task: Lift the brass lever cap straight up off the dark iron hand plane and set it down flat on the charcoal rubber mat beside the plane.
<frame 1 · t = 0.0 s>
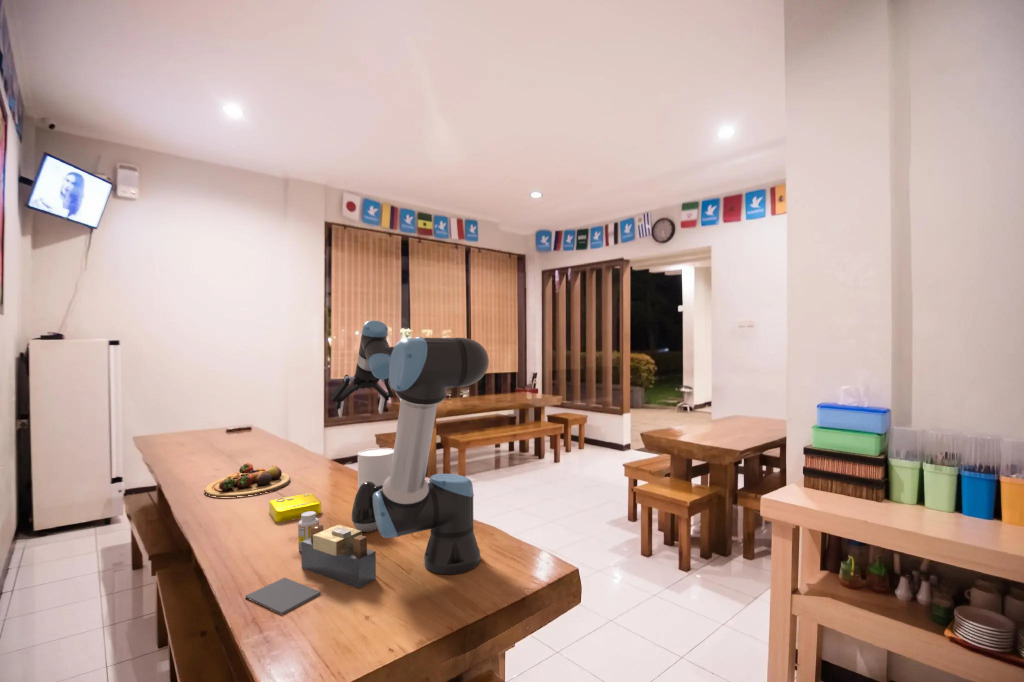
hand: (360, 413, 164), 36 cm above the table, tool tilted 35°, fingers open, 13 cm apart
wooden plate with food: (249, 487, 201), on the table
canister: (377, 506, 174), on the table
lever cap: (337, 546, 123), point 7 cm above the table, touching plane body
rubber mat: (283, 596, 112), on the table
pump dispenser: (368, 529, 153), on the table
plane body: (337, 573, 123), on the table
supplement bottle: (308, 549, 138), on the table
element tile: (295, 514, 169), on the table
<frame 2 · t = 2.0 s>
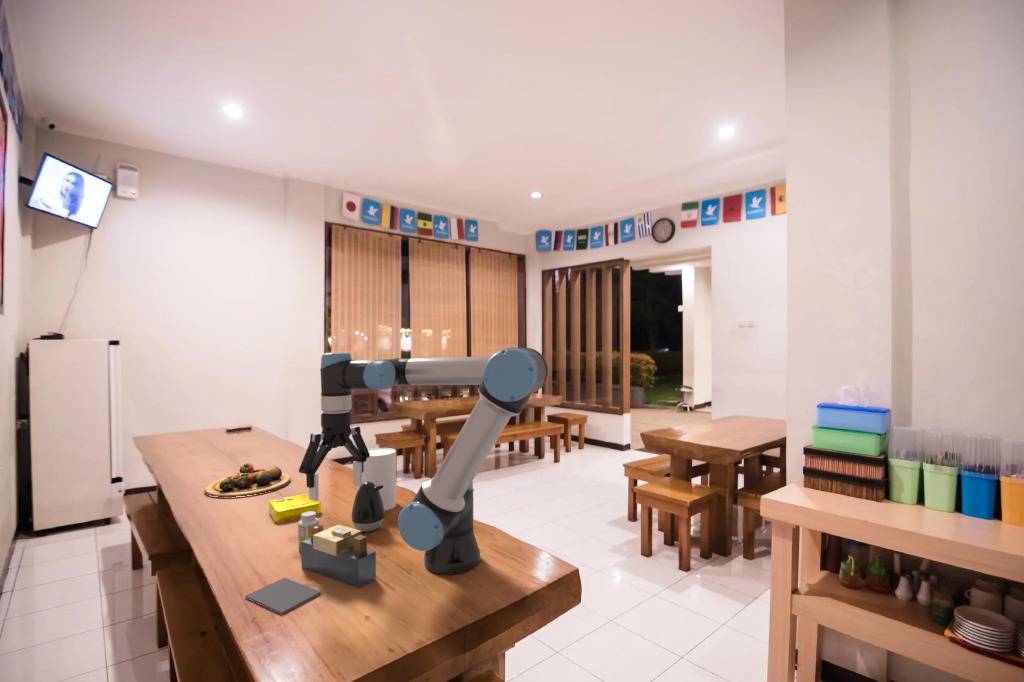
hand: (336, 492, 124), 21 cm above the table, tool pointing down, fingers open, 13 cm apart
nothing on the table moved.
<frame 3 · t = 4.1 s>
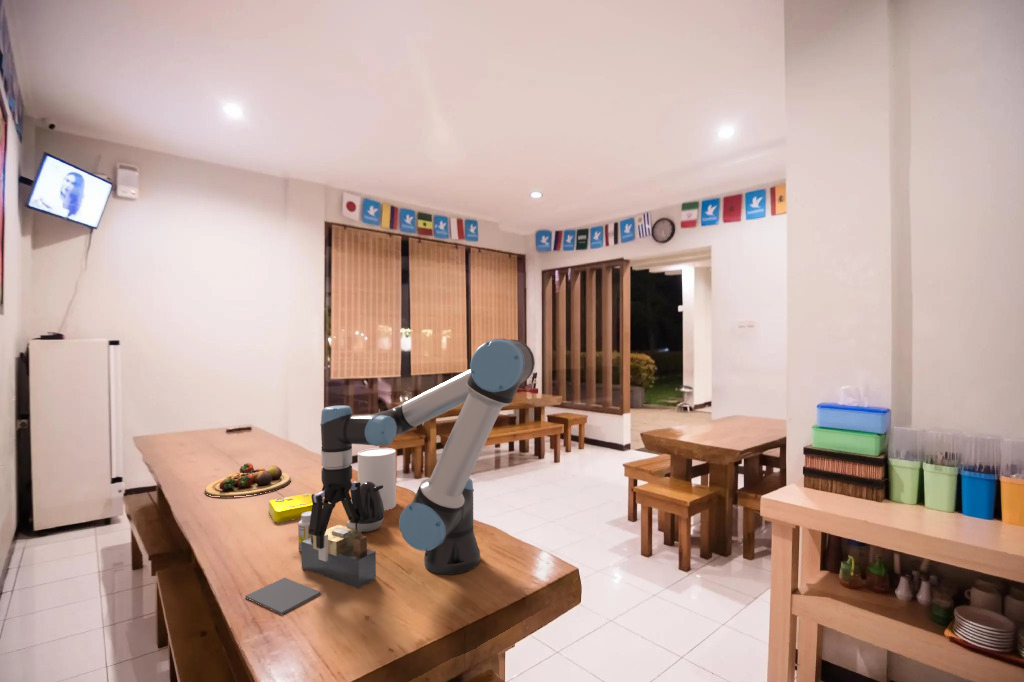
hand: (337, 553, 123), 5 cm above the table, tool pointing down, fingers closed on lever cap, 8 cm apart
lever cap: (337, 546, 123), point 7 cm above the table, touching gripper, plane body
everything else where it was.
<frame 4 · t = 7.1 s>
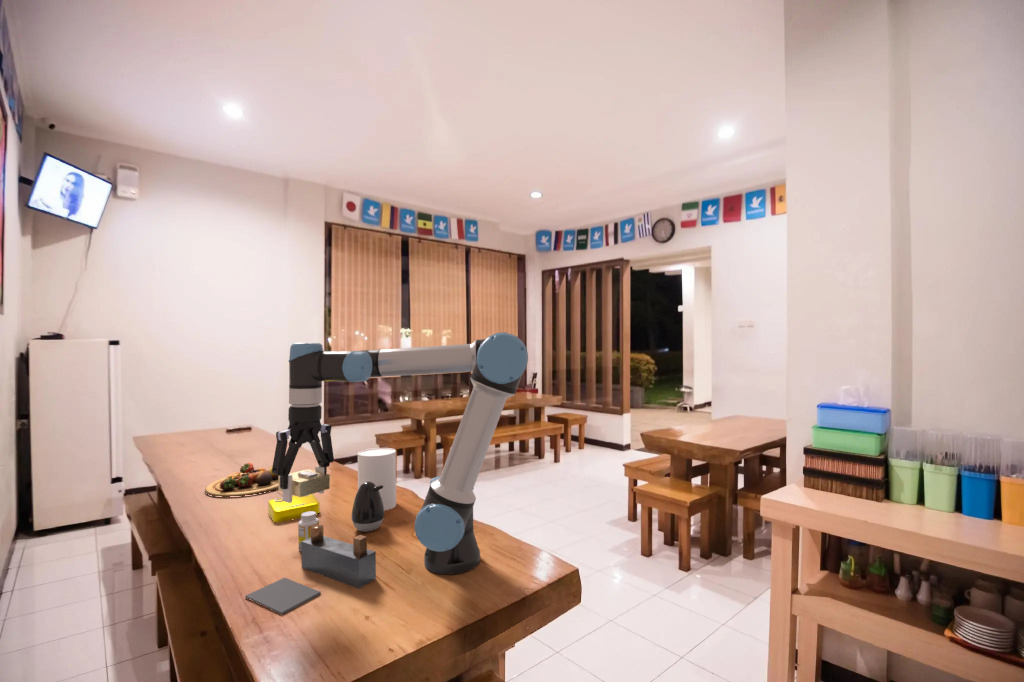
hand: (303, 496, 117), 22 cm above the table, tool pointing down, fingers closed on lever cap, 8 cm apart
lever cap: (304, 489, 117), point 24 cm above the table, touching gripper
everything else where it was.
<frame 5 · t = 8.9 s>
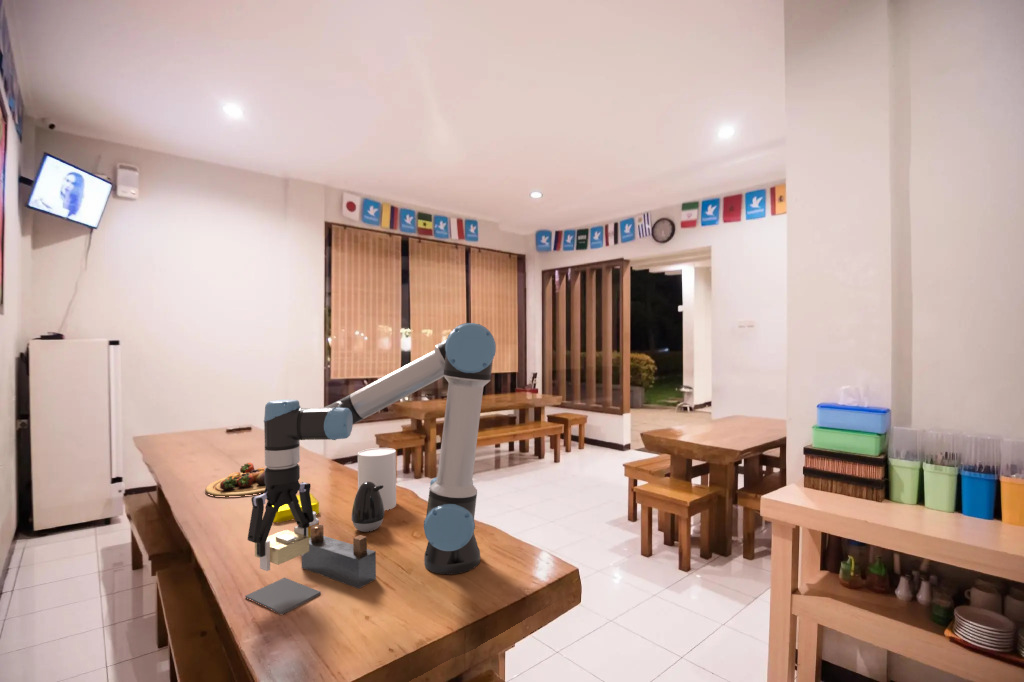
hand: (282, 561, 112), 8 cm above the table, tool pointing down, fingers closed on lever cap, 8 cm apart
lever cap: (282, 553, 112), point 10 cm above the table, touching gripper
everything else where it was.
when the fingers open (3 cm above the table, at t = 10.4 s): lever cap drops 4 cm, resting on rubber mat.
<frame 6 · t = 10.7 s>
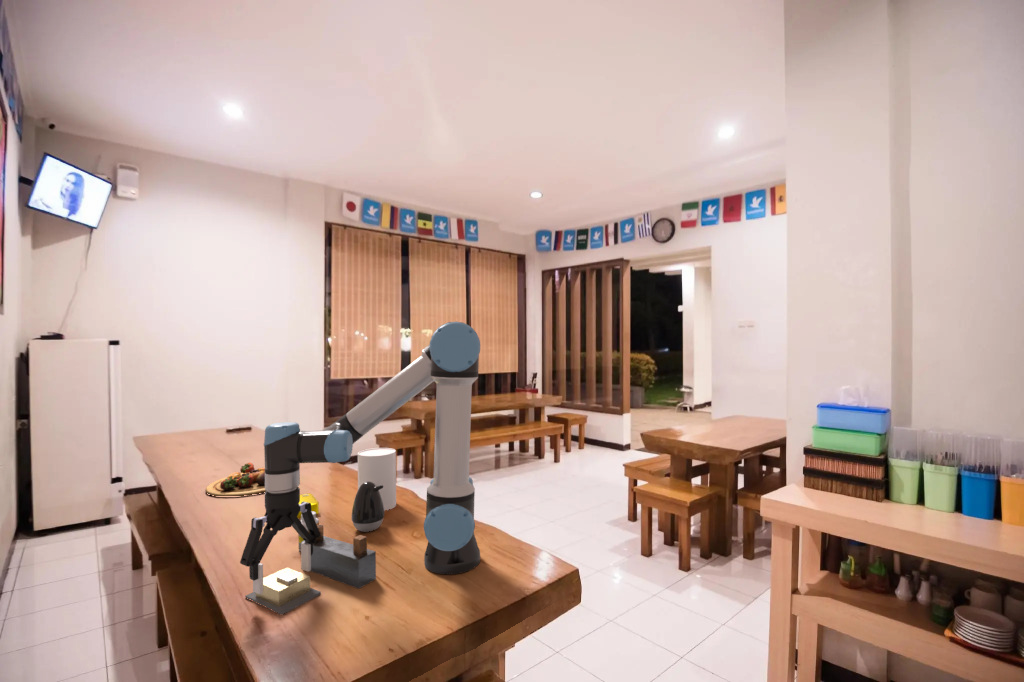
hand: (283, 580, 112), 4 cm above the table, tool pointing down, fingers open, 11 cm apart
lever cap: (283, 593, 112), point 1 cm above the table, touching rubber mat
everything else where it was.
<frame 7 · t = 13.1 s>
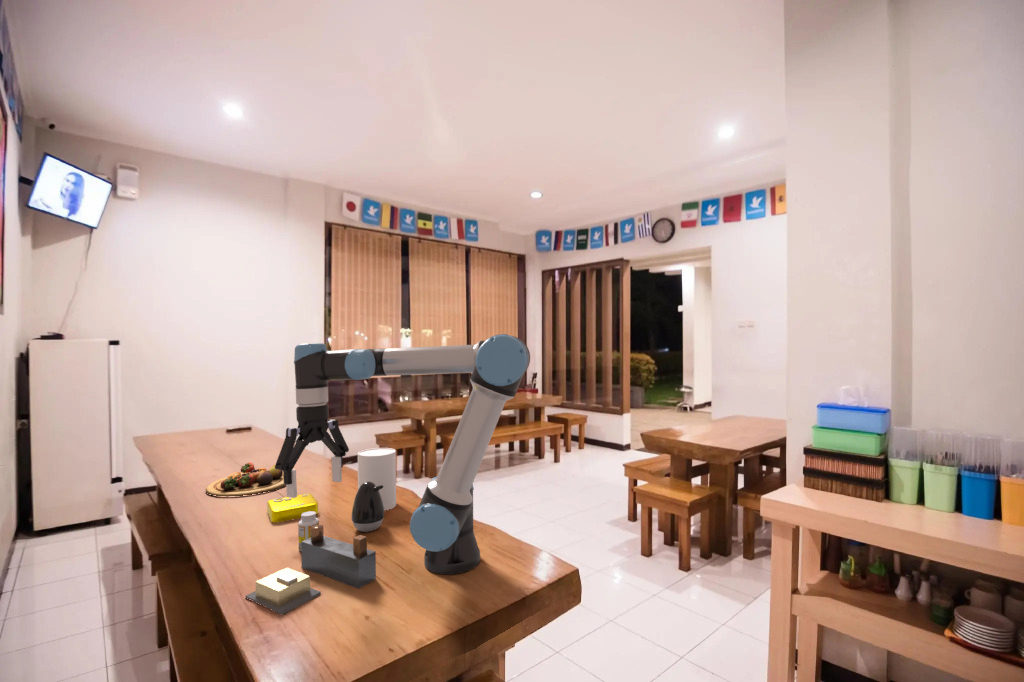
hand: (315, 489, 119), 23 cm above the table, tool pointing down, fingers open, 13 cm apart
nothing on the table moved.
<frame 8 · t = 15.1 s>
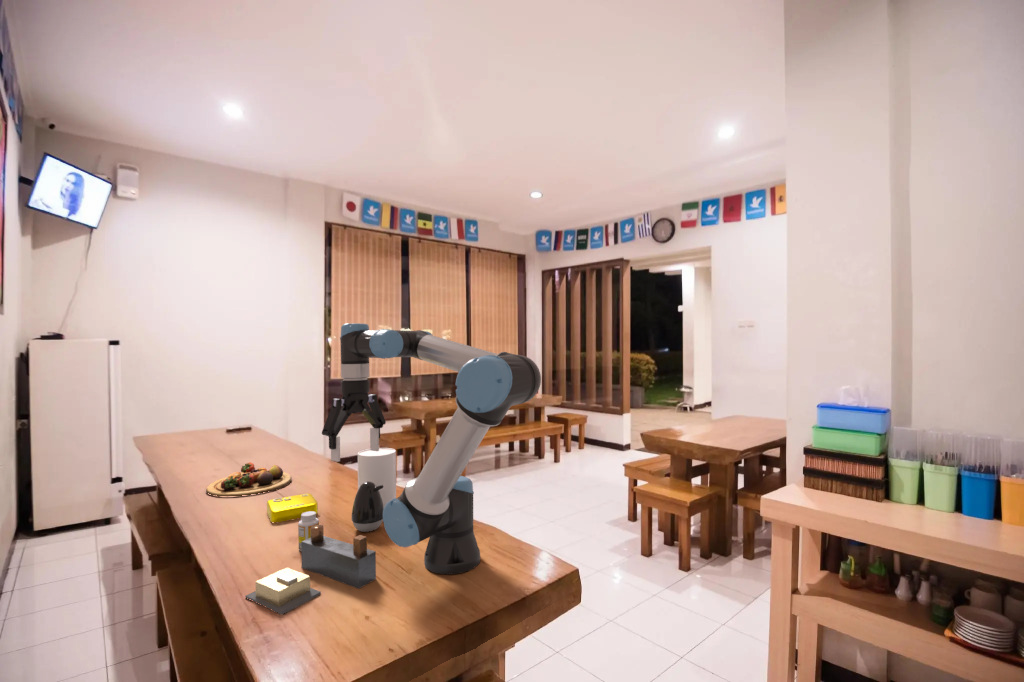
hand: (355, 455, 131), 29 cm above the table, tool pointing down, fingers open, 13 cm apart
at the end: lever cap inside the target area on the rubber mat (0.0 cm from its centre), point 0.6 cm above the rubber mat's base; lever cap tilted 0°; the gripper is holding nothing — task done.
